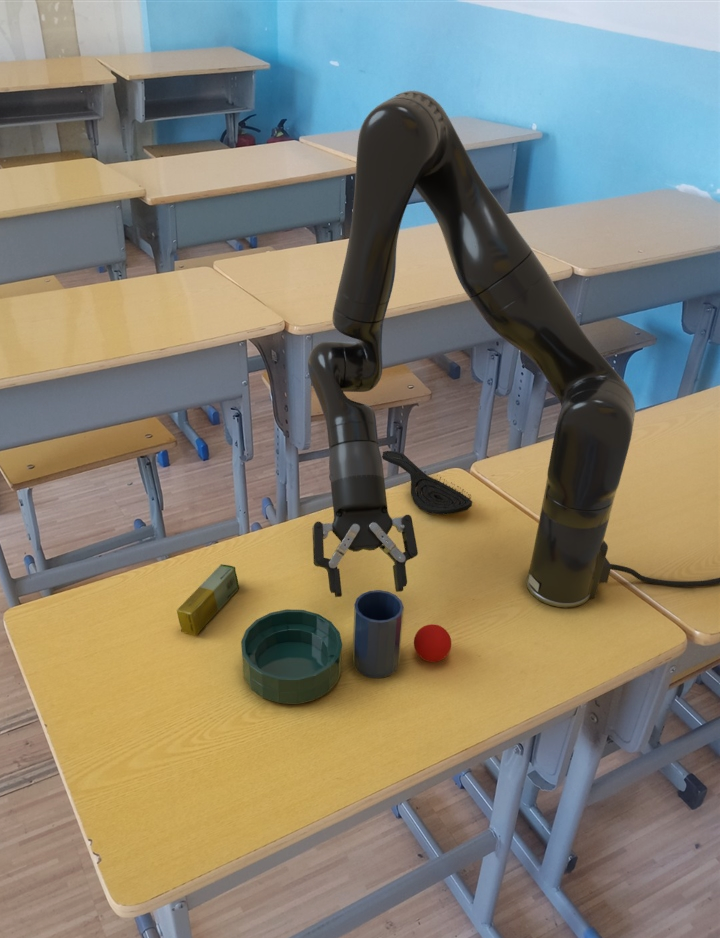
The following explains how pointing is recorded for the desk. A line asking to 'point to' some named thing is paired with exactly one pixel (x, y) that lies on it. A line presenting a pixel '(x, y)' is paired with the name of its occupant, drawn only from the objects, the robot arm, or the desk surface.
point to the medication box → (207, 599)
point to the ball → (432, 643)
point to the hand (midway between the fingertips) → (369, 593)
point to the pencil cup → (377, 633)
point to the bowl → (291, 656)
